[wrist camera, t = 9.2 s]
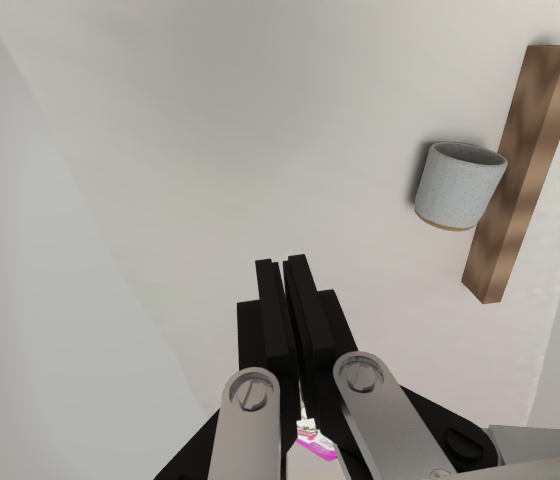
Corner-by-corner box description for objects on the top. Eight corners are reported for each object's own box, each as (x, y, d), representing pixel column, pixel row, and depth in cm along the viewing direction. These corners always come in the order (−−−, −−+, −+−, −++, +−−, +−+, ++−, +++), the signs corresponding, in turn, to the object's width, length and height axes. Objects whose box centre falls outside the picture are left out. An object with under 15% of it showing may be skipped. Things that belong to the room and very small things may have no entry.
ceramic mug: (400, 206, 44) (433, 237, 37) (417, 140, 39) (457, 161, 33) (477, 206, 45) (521, 236, 39) (501, 142, 41) (555, 163, 35)
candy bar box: (255, 315, 49) (267, 427, 35) (283, 296, 48) (307, 403, 34) (302, 354, 55) (328, 465, 41) (328, 337, 53) (364, 445, 39)
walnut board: (527, 46, 36) (568, 47, 32) (550, 45, 36) (593, 46, 32) (461, 281, 51) (482, 304, 47) (477, 279, 51) (500, 302, 47)
